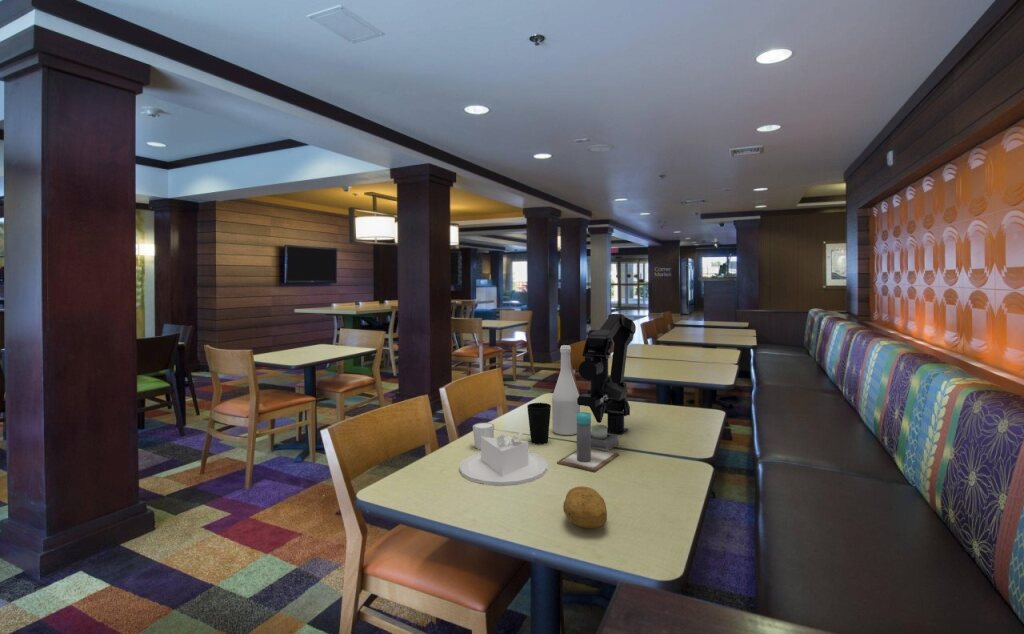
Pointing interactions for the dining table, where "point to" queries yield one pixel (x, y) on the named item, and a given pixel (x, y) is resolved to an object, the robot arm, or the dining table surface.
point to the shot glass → (482, 432)
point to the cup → (539, 422)
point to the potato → (585, 507)
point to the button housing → (605, 442)
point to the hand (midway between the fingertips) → (599, 422)
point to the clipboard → (597, 459)
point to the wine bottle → (565, 398)
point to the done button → (599, 432)
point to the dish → (503, 462)
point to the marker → (583, 437)
